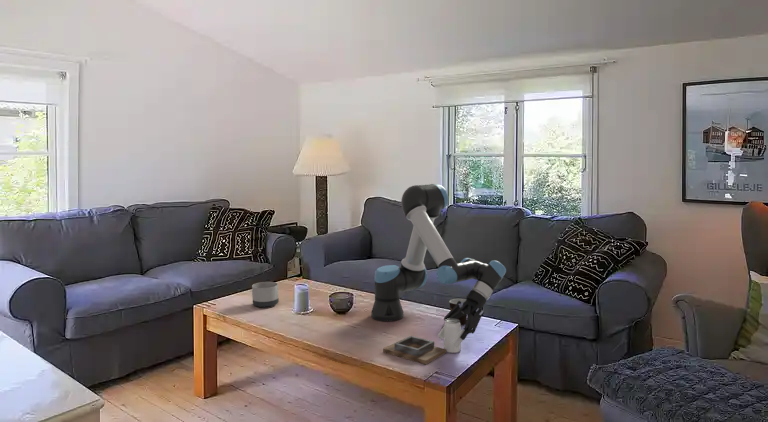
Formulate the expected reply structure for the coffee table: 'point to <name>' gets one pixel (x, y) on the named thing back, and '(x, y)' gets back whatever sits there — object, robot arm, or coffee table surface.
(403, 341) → the wooden board with frame
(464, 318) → the coffee mug
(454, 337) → the can
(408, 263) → the robot arm
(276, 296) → the planter
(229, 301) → the coffee table surface
